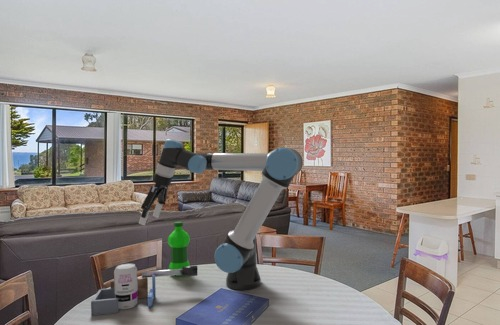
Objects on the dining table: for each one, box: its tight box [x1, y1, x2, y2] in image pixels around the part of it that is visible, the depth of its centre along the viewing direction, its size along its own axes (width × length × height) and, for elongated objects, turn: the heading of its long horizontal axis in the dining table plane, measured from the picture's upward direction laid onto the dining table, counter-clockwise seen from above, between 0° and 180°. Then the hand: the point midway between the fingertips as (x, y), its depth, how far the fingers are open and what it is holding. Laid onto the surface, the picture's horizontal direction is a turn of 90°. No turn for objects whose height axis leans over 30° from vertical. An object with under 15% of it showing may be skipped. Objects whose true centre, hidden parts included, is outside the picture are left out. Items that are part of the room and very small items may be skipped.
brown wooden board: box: [109, 277, 149, 299], centre depth 137 cm, size 14×1×8 cm, turn 100°
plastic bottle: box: [167, 221, 191, 277], centre depth 165 cm, size 10×10×25 cm
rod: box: [141, 265, 198, 308], centre depth 136 cm, size 22×13×11 cm, turn 100°
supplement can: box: [113, 262, 139, 310], centre depth 130 cm, size 8×8×15 cm
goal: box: [90, 287, 119, 316], centre depth 129 cm, size 9×12×5 cm
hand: (148, 220), depth 148 cm, fingers open, 13 cm apart
